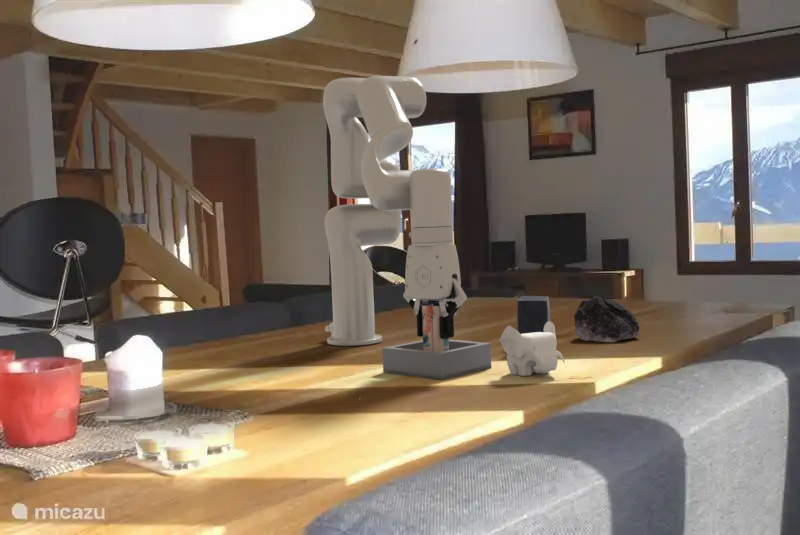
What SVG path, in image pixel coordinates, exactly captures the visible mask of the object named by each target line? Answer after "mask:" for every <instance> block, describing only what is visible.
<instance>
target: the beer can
mask: <svg viewBox="0 0 800 535" xmlns="http://www.w3.org/2000/svg"><path fill="white" fill-rule="evenodd" d="M446 298H447V297H446ZM446 304H447V307H448V303H447V302H446ZM441 316H442V313H441V309H440V304H439V300H438V301H437V300H422V326H423V336H422V340H423V351H433V352H442V351H447V350H449V339H450V338H446V339H441V338H440V323H439V318H440V317H441Z"/></svg>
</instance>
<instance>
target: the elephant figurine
mask: <svg viewBox="0 0 800 535" xmlns="http://www.w3.org/2000/svg"><path fill="white" fill-rule="evenodd" d="M556 336H557V335H556V326H555V324H554V323H553V322H552V321H551V320H550V321H548V322H547V323H546V324H545V326H544V332H534V333H525V334H520V333H519V332H518V329H515V327H513V326H511V325H507V326H506V327H505V328H504V330H503V332H502V334H501V336H500V338H499V342H500V343H501V345H502V349H503V350H504V352H505V353H506V363H507V368H508V370H509V373H510V374H511V375H515V376H516V375H519V376H520V377H528V376H529V377H530V376H531V375H532V373H537V374H541V375H542V374H543V375H544V374H549V373H550V372H551V371H556V370H557V367H558V363H559V362H558V360H559V359H558V357H559V358H560V359H561V360H562V362H563V363H564V364H565V359H564V357H563V354H562V353H561V351H558V350H557V346H558V344H557V342H558V341H557V337H556Z"/></svg>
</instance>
